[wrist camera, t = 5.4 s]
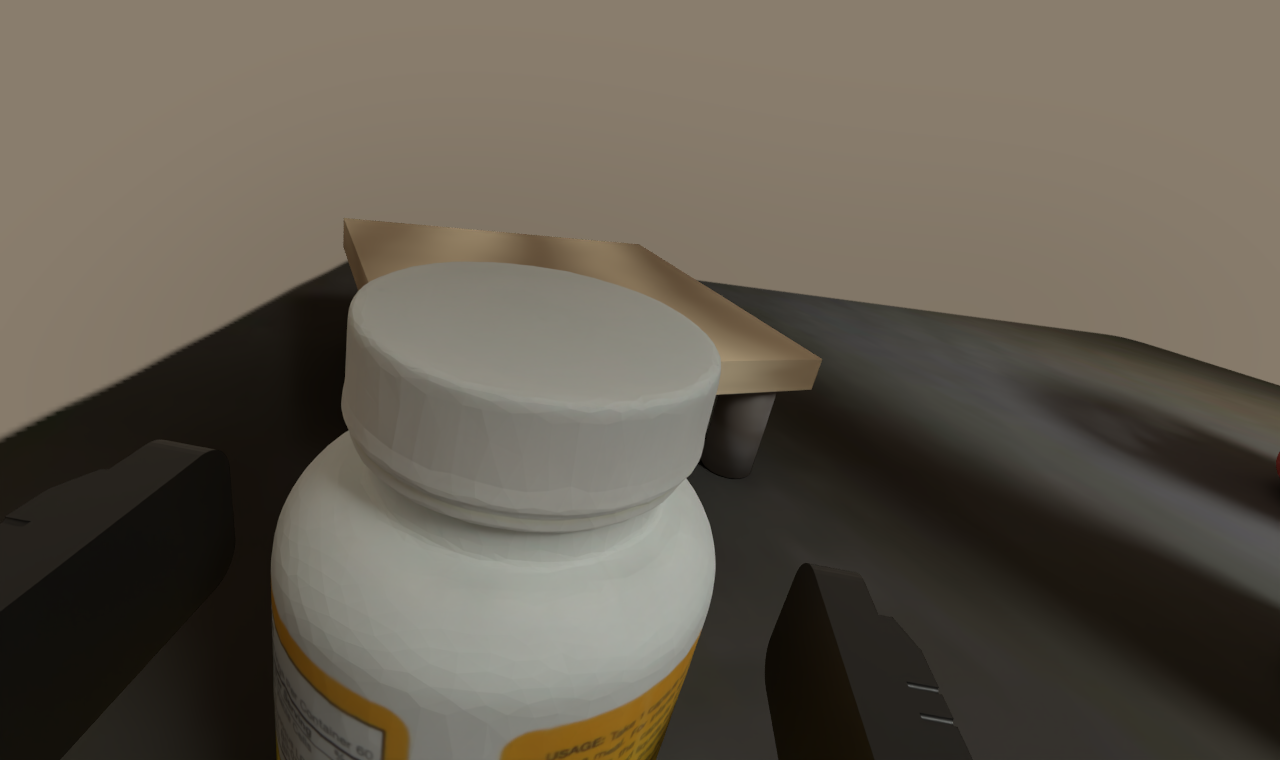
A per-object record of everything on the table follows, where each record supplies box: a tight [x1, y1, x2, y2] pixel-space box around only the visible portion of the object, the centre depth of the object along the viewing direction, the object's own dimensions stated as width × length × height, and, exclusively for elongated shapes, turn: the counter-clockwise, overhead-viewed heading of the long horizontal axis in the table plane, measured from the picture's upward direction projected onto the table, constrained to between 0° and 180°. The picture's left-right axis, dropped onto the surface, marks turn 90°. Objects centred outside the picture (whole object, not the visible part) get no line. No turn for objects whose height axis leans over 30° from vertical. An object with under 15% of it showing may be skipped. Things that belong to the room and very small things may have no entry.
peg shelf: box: [343, 218, 822, 479], centre depth 25 cm, size 14×14×5 cm
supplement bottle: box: [271, 262, 721, 760], centre depth 9 cm, size 6×6×10 cm
